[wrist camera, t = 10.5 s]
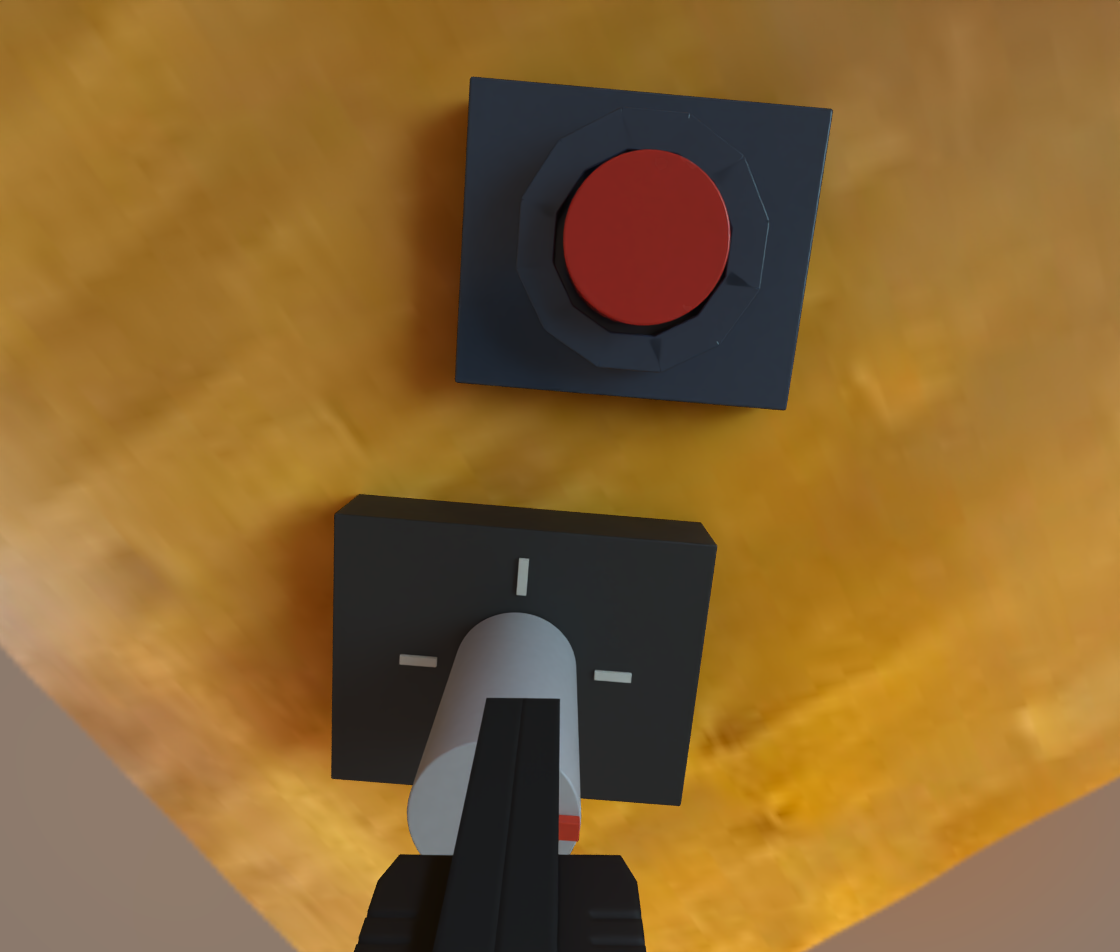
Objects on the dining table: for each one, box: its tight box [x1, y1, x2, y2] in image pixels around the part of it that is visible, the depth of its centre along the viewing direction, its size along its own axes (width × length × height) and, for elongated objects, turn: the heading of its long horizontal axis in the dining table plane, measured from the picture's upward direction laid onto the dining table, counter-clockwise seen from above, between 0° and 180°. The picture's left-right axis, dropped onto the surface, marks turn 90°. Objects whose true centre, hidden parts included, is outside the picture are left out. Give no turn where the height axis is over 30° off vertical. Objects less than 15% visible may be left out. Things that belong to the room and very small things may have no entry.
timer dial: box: [407, 613, 581, 855], centre depth 21 cm, size 5×5×8 cm
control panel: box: [331, 494, 717, 806], centre depth 27 cm, size 14×11×3 cm
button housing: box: [455, 77, 833, 410], centre depth 23 cm, size 12×10×4 cm
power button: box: [563, 149, 731, 326], centre depth 21 cm, size 5×5×2 cm
